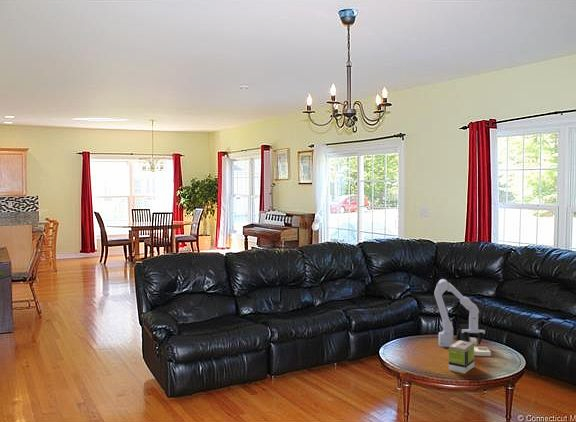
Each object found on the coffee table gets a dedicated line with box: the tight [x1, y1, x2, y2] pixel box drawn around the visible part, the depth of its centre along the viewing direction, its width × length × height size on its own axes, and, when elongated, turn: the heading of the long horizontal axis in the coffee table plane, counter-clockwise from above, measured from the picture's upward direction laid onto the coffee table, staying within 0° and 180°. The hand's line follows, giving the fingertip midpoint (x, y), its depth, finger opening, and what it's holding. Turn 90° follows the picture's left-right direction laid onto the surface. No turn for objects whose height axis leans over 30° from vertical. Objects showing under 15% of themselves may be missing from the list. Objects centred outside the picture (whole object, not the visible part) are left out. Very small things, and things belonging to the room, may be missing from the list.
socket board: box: [474, 346, 492, 357], centre depth 343 cm, size 16×11×3 cm
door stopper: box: [455, 323, 471, 342], centre depth 367 cm, size 9×6×12 cm, turn 14°
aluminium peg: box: [469, 337, 478, 346], centre depth 355 cm, size 4×4×6 cm
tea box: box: [448, 340, 475, 374], centre depth 315 cm, size 15×10×15 cm
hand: (473, 343), depth 355 cm, fingers open, 7 cm apart
